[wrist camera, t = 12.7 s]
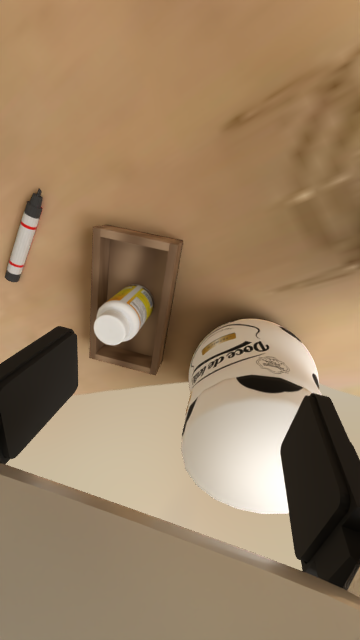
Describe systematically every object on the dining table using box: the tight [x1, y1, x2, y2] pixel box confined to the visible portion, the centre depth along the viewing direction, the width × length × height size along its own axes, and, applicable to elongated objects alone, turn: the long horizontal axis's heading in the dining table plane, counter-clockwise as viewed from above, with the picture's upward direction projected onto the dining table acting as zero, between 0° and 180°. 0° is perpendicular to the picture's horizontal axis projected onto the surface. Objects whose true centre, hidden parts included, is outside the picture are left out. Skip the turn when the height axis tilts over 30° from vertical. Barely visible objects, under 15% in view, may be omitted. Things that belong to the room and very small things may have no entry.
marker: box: [5, 189, 42, 282], centre depth 38 cm, size 15×2×2 cm, turn 147°
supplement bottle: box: [94, 285, 154, 345], centre depth 34 cm, size 6×6×10 cm
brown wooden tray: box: [89, 225, 183, 375], centre depth 38 cm, size 11×20×4 cm, turn 170°
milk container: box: [181, 319, 321, 514], centre depth 33 cm, size 17×17×18 cm
